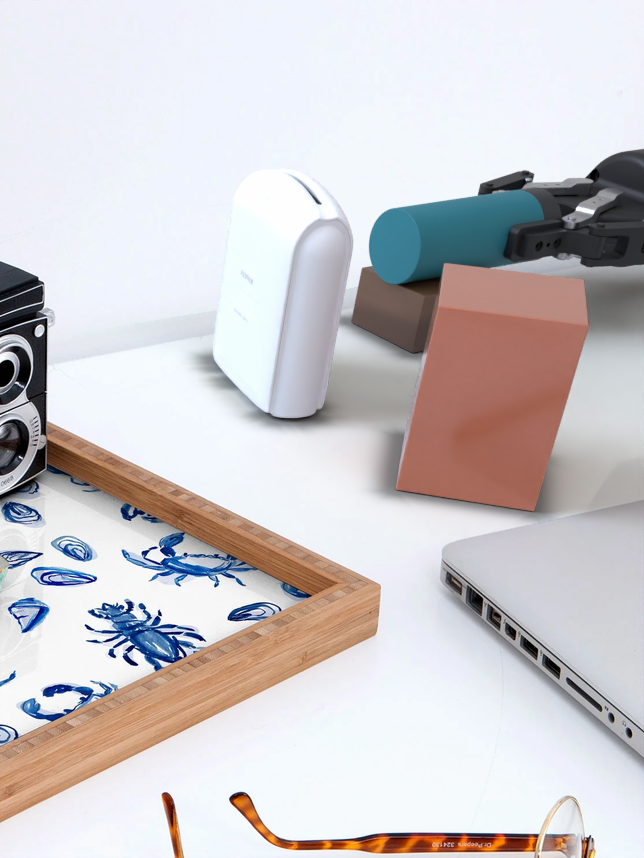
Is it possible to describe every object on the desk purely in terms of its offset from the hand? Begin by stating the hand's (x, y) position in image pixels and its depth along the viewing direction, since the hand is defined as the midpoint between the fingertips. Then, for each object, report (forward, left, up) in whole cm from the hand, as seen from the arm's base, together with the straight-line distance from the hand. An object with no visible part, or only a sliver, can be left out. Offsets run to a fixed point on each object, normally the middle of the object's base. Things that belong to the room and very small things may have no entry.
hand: (481, 232), depth 94 cm
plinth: (-1, +24, -6) cm, 25 cm away
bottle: (+1, +1, 0) cm, 1 cm away
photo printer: (+11, +16, -6) cm, 20 cm away
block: (+3, +3, -6) cm, 7 cm away
